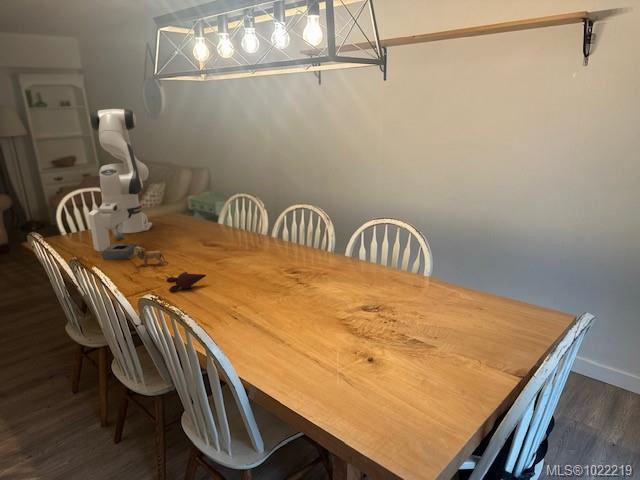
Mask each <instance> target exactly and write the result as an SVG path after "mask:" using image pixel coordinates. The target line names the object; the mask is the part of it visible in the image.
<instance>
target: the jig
mask: <svg viewBox="0 0 640 480" xmlns="http://www.w3.org/2000/svg"><path fill="white" fill-rule="evenodd" d="M135 247H139V246H138V243H113V244H110V247H108V248H107V249H105V250H103V251H101V253H102V259H103V260H131V259H132V258H134V257H136V256H135V255H134V248H135Z"/></svg>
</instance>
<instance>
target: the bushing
mask: <svg viewBox="0 0 640 480" xmlns="http://www.w3.org/2000/svg"><path fill="white" fill-rule="evenodd" d="M116 230H117V231H118V234H117V235H113V238H114V239H113V240H114V241H115V242H121V241H123V240H124V233H123V232H122V225H121V223H120V224H118V225H117V226H116Z"/></svg>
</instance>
